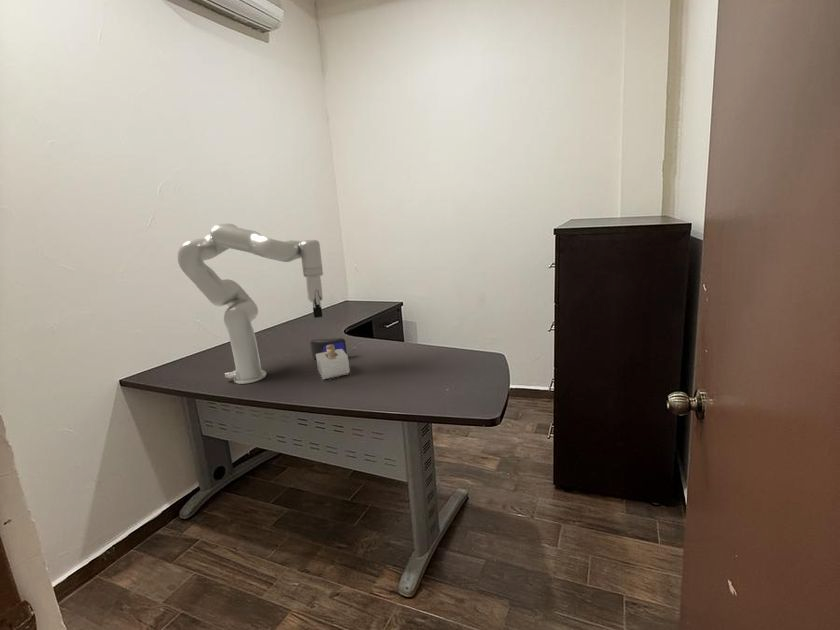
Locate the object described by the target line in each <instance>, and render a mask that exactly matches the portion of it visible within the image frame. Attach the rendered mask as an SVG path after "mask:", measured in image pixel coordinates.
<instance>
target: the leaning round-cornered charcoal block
mask: <svg viewBox="0 0 840 630" xmlns="http://www.w3.org/2000/svg"><path fill="white" fill-rule="evenodd" d="M309 344H310V349H311V356H312V359H313V360H315V359H316V354H318V353H323V352H327V348H326V346H327V345H334V347H335V350H338V349H343V351H344V352H345V353H346V354H347V355H348V353H347V344H346V340H345V338H343V337H342V338H341V337H339V338H336V337H335V338H316V339H311V340H310V342H309ZM315 361H317V359H316V360H315Z"/></svg>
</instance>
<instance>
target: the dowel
mask: <svg viewBox="0 0 840 630" xmlns="http://www.w3.org/2000/svg"><path fill="white" fill-rule="evenodd" d="M326 348H327V355H328V357H333V356H336V354H335V347H334V345H327V346H326Z"/></svg>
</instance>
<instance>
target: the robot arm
mask: <svg viewBox="0 0 840 630" xmlns="http://www.w3.org/2000/svg"><path fill="white" fill-rule="evenodd" d="M229 249H231V250H234V251H235V250H236V251H240V252H245V253H248V254H249V253H250V254H252V255H254V256H257V257H258V256H259V257H261V258H265V259H269V260H273V261H279V262H282V263H283V262H284V263H290V262H293V261H295V260H299V259H301V266H302V274H303V277H304V278H305V280H306V289H307V290H306V291H307V298H308V301H309V302H310V303H312V306H313V307H312V310H313V311H312V312H313V317H314V319H318V318H322V317H323V311H322V310H323V309H322V303H321V301H323V288H322V279H321V277H322V276H323V275H324V272H323V261H322V254H321V244H320V241H318V240H317V239H308V240H287V241H284V240H278V239H273V238H269V237H266V236H264V235H262V234H261V233H259V232H258V231H255V230H251V229H246V228H242V227H238V226H237V225H235V224H233V223H217V224H215V225H213V226H212V227H211V230H210V232H209V234H207V235H206V236H204V237H202V238H193V239H189V240H186V241H185V242H183V243H182V244H181V246H180V247H179V249H178V251H177V263H178V265H179V268H180V269H181V271H182V272H183V273H184V275H186V277H187V278H189V280H190V281H191V282H192V283H193V284H194V285H195V286H196V288H197V289H199V291H200V292H201V293H202V294H203V295H204V297H206V299H207V300H208V301H209V302H210V303H211V304H212V305H214V306H216V307H223V306H226V305H227V306H228V308H227V309H225V311H224V314H223V322H224V325H225V327H226V330H227V333H228V337H229V341H230V347H231V351H232V352H231V353H232V355H233V361H234V365H235V370H232V371H231V372H225V373H224V377H225V379H226V378H228V379H232V378H233V382H234V383H235V384H238V385H244V384H245V385H246V384H252V383H256V382H259V381H260V380H263V379H264V378H266V376H267V372H266V370H263V369H262V365H261V360H260V354H259V353H260V352H259V348H258V344H257V337H256V334H255V330H254V327H253V325H252V322H253V321H254V320H255V319H256V318H257V316H258V314H259V309H258V305H257V304H256V303H255V302H256V301H254V300H253V299H252V298H251V297H250V296H249V294H248V293H247V292H246V290H244V289H243V288H242V286H241V285H240V284H238V283H237V282H236V281H234V280H232V279H229V278H228V279H226V278H225V279H221V277H220V276H218V274H217V273H216V272H215V271H214V269H213V268H211V267H210V266H209V265H207V264H206V263H205V261H206V260H211V259H213V258H216V257H217V256H219V255H221V254H223V253H224V252H226V251H227V250H229Z"/></svg>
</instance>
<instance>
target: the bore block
mask: <svg viewBox="0 0 840 630" xmlns="http://www.w3.org/2000/svg"><path fill="white" fill-rule="evenodd" d="M335 354H336V356H333V357H328V355H327V352H323V353H318V354H316V359H317V360H316V365H317V371H319V372H318V374H319V373H320V374H319V376H320V375H321V376H320V378H321V377H322V378H321V380H322V379H325V378H329V377H333V376H337V375H341V374H345V373H349V372H350V373H351V371H350V364H349V363H350V362H349V356H348V353H347V354H346V353H345V352H344V351H343V349H338V350H335Z"/></svg>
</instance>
